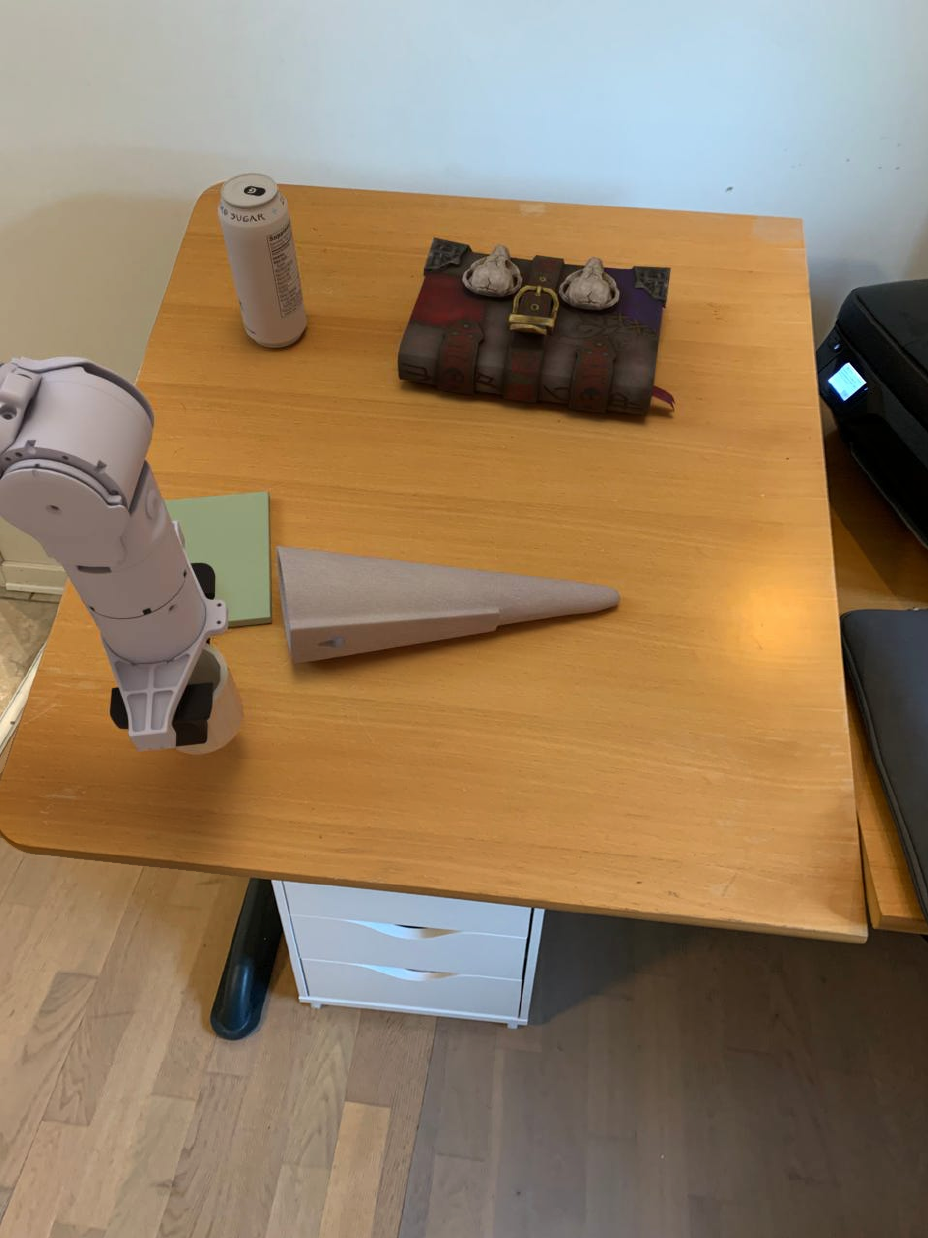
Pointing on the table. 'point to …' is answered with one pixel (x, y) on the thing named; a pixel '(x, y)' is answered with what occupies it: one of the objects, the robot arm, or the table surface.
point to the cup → (217, 701)
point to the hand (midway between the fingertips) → (192, 697)
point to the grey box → (409, 601)
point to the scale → (231, 549)
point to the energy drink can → (262, 259)
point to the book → (537, 329)
